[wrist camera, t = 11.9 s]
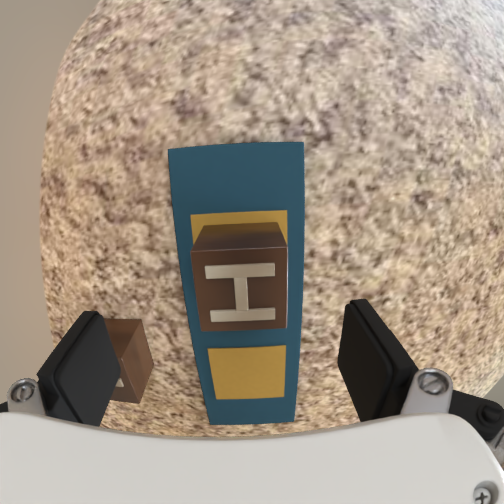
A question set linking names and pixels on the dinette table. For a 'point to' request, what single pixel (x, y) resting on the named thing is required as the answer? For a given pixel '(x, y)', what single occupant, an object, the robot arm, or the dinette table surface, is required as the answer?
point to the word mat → (292, 226)
